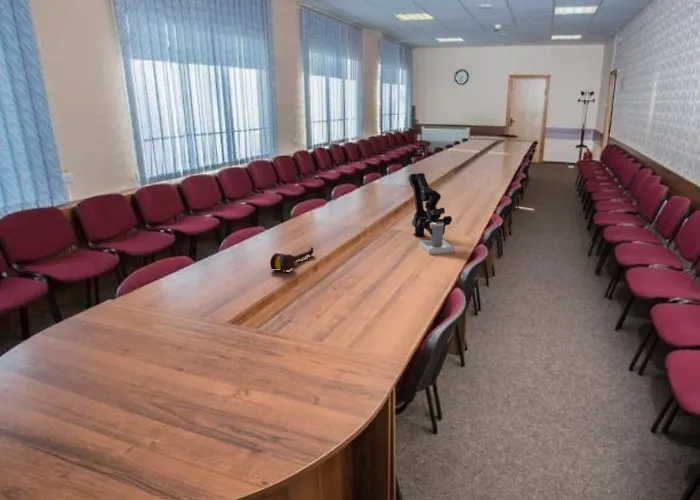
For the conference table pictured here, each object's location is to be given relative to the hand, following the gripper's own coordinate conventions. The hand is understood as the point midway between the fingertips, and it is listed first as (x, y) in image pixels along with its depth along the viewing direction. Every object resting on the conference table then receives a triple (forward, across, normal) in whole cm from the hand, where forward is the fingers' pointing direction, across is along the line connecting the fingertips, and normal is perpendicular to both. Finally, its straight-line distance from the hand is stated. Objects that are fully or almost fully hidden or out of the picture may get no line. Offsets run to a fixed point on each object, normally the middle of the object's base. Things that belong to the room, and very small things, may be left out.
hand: (437, 234), depth 263 cm
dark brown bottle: (+13, -79, 0) cm, 80 cm away
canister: (+4, 0, +6) cm, 7 cm away
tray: (+5, 0, +7) cm, 9 cm away
